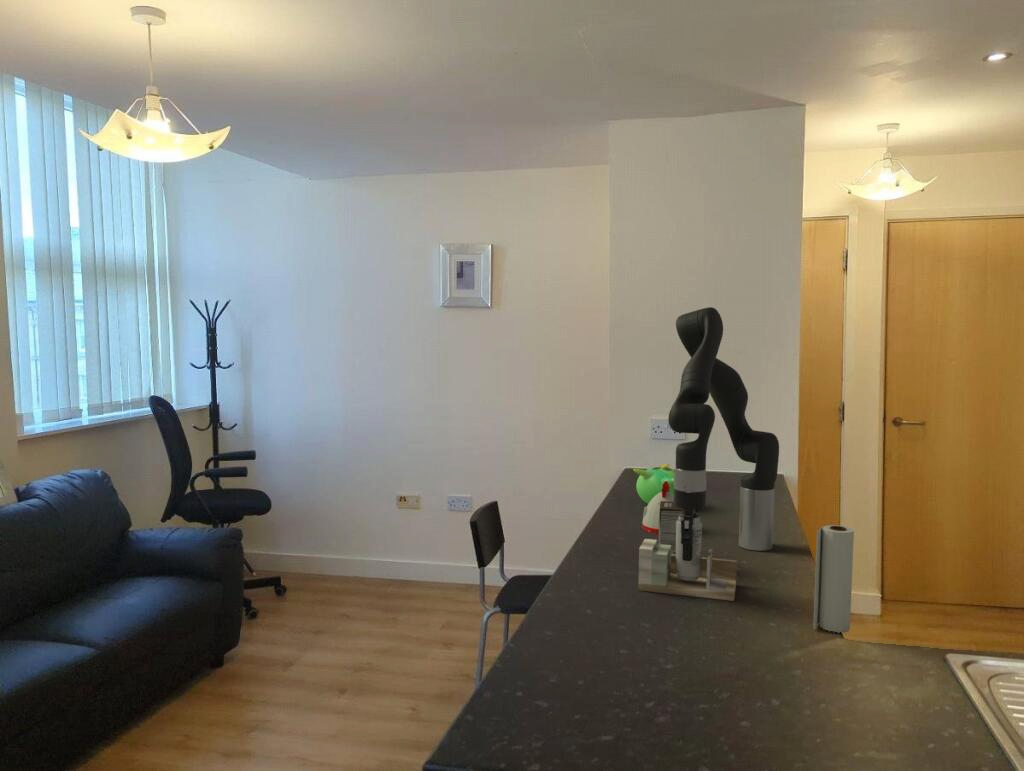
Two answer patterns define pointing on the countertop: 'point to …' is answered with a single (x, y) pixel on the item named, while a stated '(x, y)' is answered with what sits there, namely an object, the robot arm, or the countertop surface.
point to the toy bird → (654, 481)
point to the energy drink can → (693, 567)
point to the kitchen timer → (655, 509)
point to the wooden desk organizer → (663, 579)
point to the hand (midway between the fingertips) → (688, 556)
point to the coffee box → (668, 524)
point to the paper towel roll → (833, 578)
